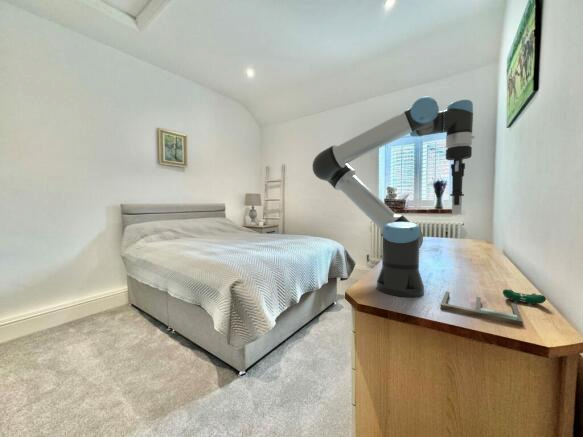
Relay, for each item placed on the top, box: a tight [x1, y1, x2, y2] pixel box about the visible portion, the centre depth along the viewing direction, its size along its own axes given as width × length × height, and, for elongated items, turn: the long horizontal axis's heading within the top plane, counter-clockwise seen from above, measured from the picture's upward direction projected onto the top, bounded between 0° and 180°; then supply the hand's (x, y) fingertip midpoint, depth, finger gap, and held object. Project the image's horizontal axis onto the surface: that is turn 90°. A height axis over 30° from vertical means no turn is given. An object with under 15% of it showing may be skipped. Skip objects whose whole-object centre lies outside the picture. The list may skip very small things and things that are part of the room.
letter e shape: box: [440, 291, 524, 327], centre depth 69 cm, size 17×14×2 cm
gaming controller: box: [502, 288, 547, 306], centre depth 74 cm, size 9×4×6 cm
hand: (456, 214), depth 87 cm, fingers closed
